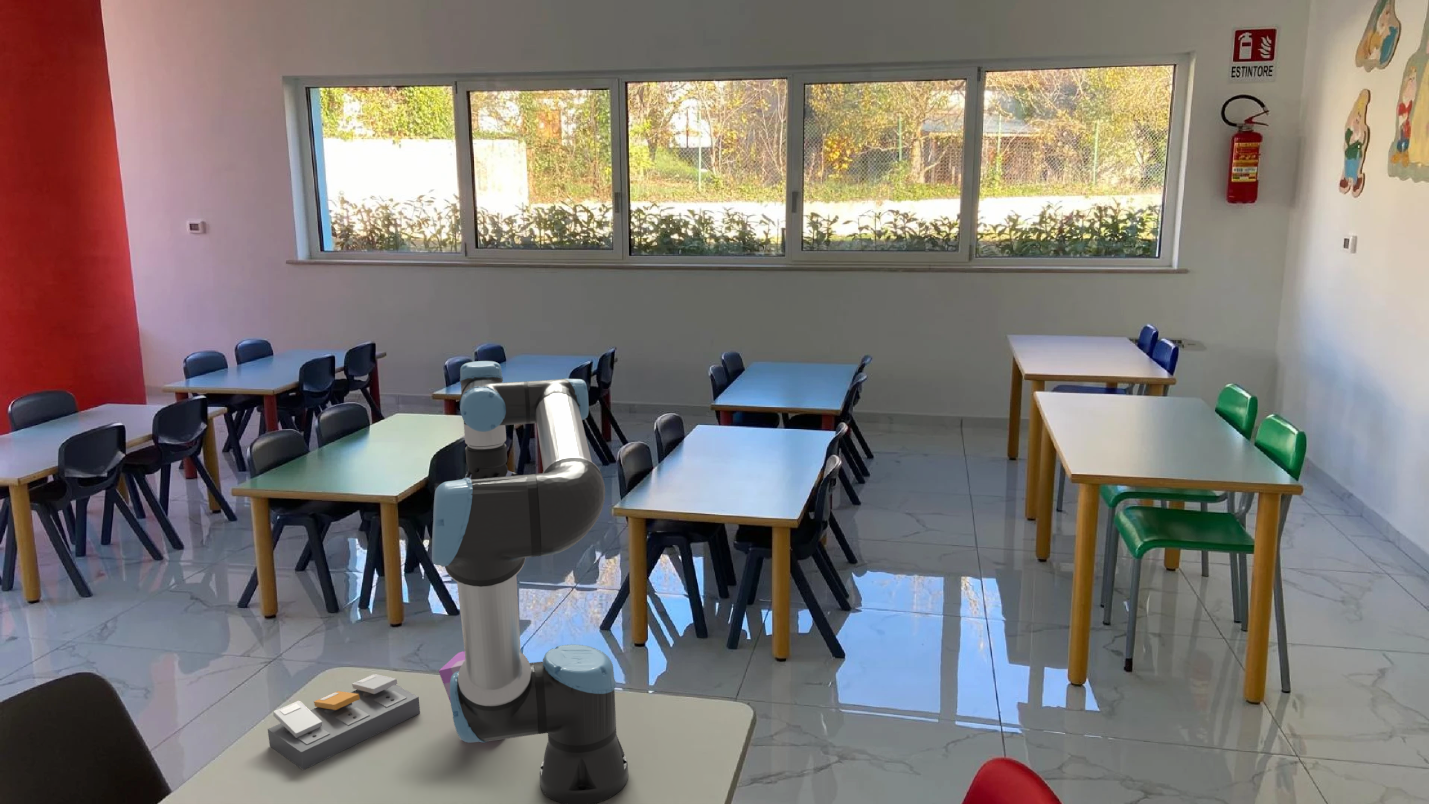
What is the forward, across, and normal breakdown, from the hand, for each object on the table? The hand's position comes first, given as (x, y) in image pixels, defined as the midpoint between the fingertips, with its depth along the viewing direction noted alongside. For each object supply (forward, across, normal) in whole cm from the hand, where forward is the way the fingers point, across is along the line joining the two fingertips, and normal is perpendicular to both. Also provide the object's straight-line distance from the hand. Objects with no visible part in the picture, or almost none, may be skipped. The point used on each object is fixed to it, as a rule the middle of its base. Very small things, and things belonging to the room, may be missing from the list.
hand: (493, 562), depth 189 cm
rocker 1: (+25, +33, -18) cm, 45 cm away
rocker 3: (+25, +17, -18) cm, 35 cm away
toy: (+30, +8, +4) cm, 31 cm away
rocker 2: (+25, +25, -18) cm, 40 cm away
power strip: (+29, +25, -15) cm, 41 cm away
